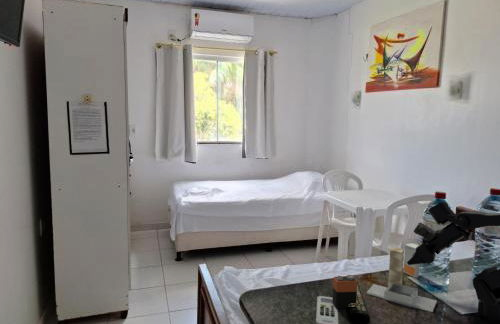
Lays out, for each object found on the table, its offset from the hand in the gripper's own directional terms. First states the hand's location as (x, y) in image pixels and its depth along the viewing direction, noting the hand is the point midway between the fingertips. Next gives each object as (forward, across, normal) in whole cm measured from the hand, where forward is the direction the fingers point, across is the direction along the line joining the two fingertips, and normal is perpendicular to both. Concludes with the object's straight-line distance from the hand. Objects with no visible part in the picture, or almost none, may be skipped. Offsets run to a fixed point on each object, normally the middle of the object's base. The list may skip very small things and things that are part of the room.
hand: (410, 259), depth 129 cm
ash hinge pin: (+11, 0, +5) cm, 12 cm away
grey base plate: (+8, +9, +8) cm, 14 cm away
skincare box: (+9, -16, +7) cm, 20 cm away
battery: (+18, +26, -2) cm, 32 cm away
